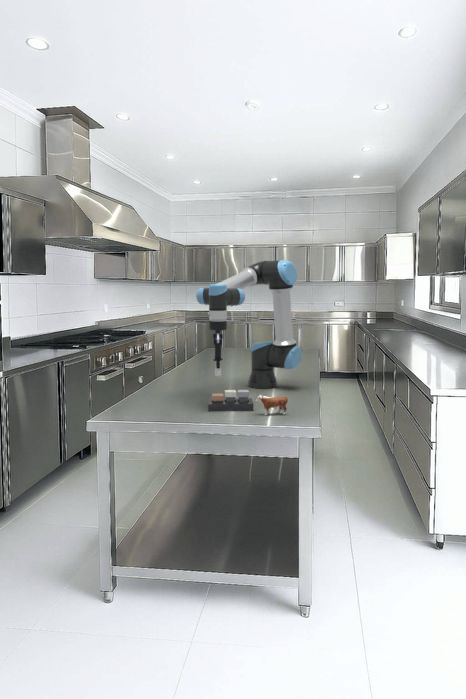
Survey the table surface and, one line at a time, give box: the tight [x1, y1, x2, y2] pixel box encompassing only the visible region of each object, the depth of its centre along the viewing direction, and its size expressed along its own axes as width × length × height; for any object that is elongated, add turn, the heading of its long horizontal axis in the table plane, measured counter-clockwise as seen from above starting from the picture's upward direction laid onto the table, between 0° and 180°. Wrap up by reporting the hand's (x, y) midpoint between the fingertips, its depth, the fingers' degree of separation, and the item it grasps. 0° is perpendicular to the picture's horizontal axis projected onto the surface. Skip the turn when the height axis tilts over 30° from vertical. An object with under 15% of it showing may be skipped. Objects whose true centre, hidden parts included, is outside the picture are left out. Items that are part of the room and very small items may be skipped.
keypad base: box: [207, 397, 254, 412], centre depth 238 cm, size 19×12×3 cm, turn 92°
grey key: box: [237, 389, 250, 402], centre depth 238 cm, size 5×5×5 cm
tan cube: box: [211, 393, 224, 402], centre depth 238 cm, size 5×5×5 cm
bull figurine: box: [254, 394, 288, 416], centre depth 227 cm, size 4×13×8 cm, turn 95°
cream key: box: [224, 389, 237, 402], centre depth 238 cm, size 5×5×5 cm
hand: (218, 375), depth 236 cm, fingers closed
